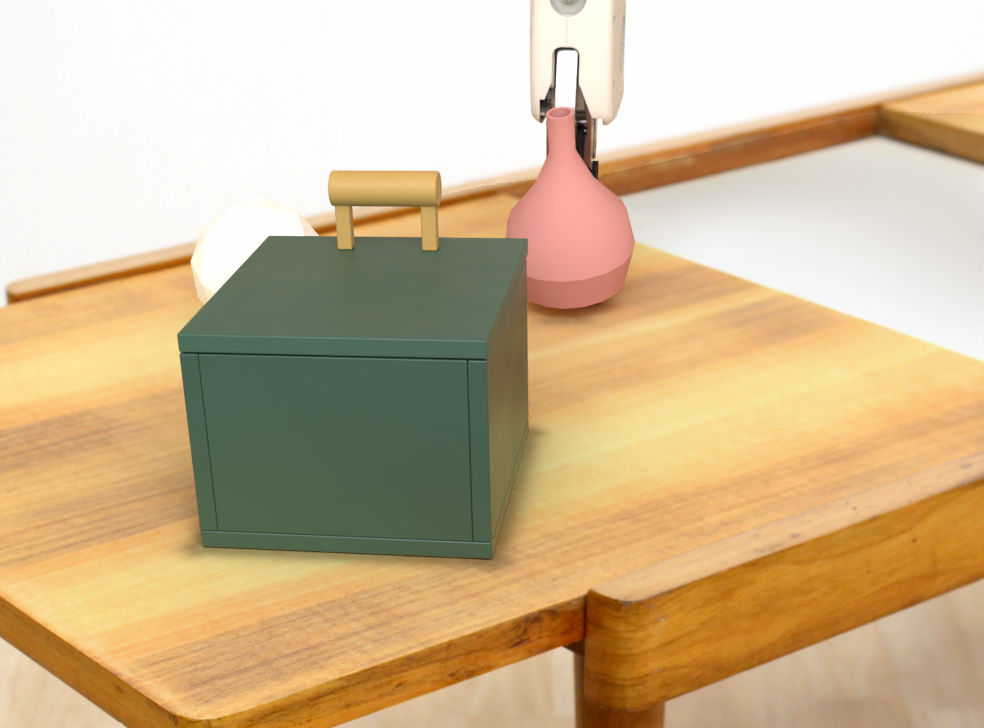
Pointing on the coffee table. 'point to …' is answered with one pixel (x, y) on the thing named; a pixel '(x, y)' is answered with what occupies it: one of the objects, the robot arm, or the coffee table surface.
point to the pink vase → (571, 227)
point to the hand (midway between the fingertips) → (569, 226)
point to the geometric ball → (239, 240)
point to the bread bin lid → (365, 285)
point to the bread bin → (359, 447)
